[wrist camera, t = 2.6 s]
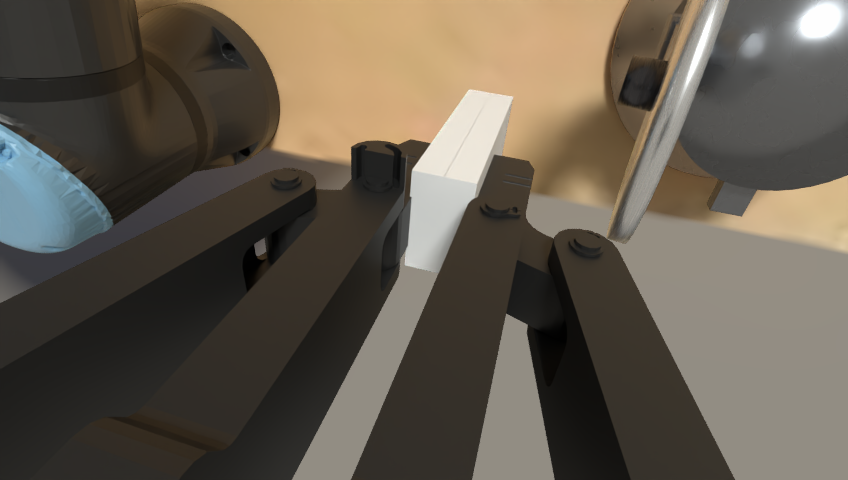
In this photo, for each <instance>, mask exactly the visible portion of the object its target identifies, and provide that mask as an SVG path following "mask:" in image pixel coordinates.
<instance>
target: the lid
mask: <svg viewBox="0 0 848 480" xmlns="http://www.w3.org/2000/svg"><path fill="white" fill-rule="evenodd" d="M728 3H729V0H688V1H687V4H686V6H685V9H684V11H683V14H682V16H681V19H680V22H679V23H676V26H675V28H674V31H673V34H672V37H671V39H670V42H669V45H668V47H667V50H666V53H665V56H664V58H663V60H660V59H654V58H649V57H643V56H638V55H633V57H632V59H631V62H630V65H629V68H628V71H627V73H626V76H625V79H624V82H623V85H622V88H621V92H620V95H619V98H618V101H617V105H621V106H626V107H630V108H635V109H640V110H644V111H646V114H645V116H644V119H643V122H642V125H641V128H640V131H639V134H638V136H637V139H636V142H635V145H634V148H633V151H632V154H631V157H630V160H629V163H628V166H627V168H626V171H625V174H624V178H623V181H622V184H621V187H620V190H619V193H618V196H617V199H616V202H615V206H614V209H613V212H612V216H611V219H610V223H609V227H608V231H607V236H606V238H607V239H609V240H613V241H616V242H619V243H622V244H625V243H627V242H628V241H629V239H630V238H631V236H632V235H633V233H634V231H635V230H636V228H637V226H638V224H639V222H640V220H641V218H642V216H643V215H644V213H645V211H646V209H647V206H648V204H649V202H650V200H651V198H652V196H653V194H654V192H655V189H656V187H657V185H658V183H659V181H660V178H661V176H662V174H663V172H664V169H665V167H666V165H667V162H668V160H669V158H670V155H671V153H672V151H673V148H674V146H675V143H676V141H677V139H678V136H679V134H680V131H681V129H682V127H683V124H684V122H685V119H686V117H687V114H688V112H689V109H690V107H691V104H692V102H693V99H694V96H695V94H696V91H697V89H698V86H699V83H700V81H701V78H702V76H703V73H704V70H705V68H706V65H707V62H708V60H709V57H710V54H711V51H712V49H713V46H714V43H715V41H716V38H717V35H718V32H719V29H720V26H721V24H722V21H723V18H724V15H725V12H726V9H727V6H728Z"/></svg>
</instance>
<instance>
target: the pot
mask: <svg viewBox="0 0 848 480" xmlns="http://www.w3.org/2000/svg"><path fill="white" fill-rule="evenodd" d="M687 1H688V0H630V1H629V3H628V5H627V7H626V9H625V11H624V13H623V15H622V18H621V21H620V24H619V26H618V29H617V32H616V36H615V40H614V44H613V49H612V57H611V66H610V70H611V87H612V92H613V98H614V102H615V105H616V108H617V111H618V114H619V117H620V119H621V120H622V122H623V124H624V126H625V128H626V130H627V131H628V132H629V134H630V135H631V137H632V138H633V139H634V141H635V142H636V139H637V136H638V134H639V131H640V128H641V125H642V122H643V119H644V116H645V114H646V111H644V110H640V109H635V108H630V107H626V106H621V105H617V101H618V98H619V95H620V92H621V88H622V85H623V82H624V79H625V76H626V73H627V71H628V68H629V65H630V62H631V59H632V57H633V55H638V56H643V57H649V58H654V59H660V60H663V58H664V56H665V53H666V50H667V47H668V45H669V42H670V39H671V37H672V34H673V31H674V28H675V26H676V23H679V22H680V19H681V16H682V14H683V11H684V9H685V6H686V4H687ZM667 166H669V167H672V168H674V169H677V170H679V171H682V172H685V173H689V174H693V175H697V176H702V177H709V178H717V179H719V180H718V182H717V184H716V186H715V188H714V190H713V192H712V194H711V196H710V198H709V200H708V202H707V205H708V207H709V209H710V210H711V211H716V212H721V213H727V214H732V215H737V216H742V215H743V213H744V212H745V210H746V208H747V206H748V205H749V203H750V201H751V199H752V198H753V196H754V194H755V192H756V191H757V190H773V191H779V190H793V189H799V188H805V187H811V186H815V185H819V184H823V183H827V182H830V181H833V180H836V179H839V178H841V177H844V176H847V175H848V0H729V3H728V6H727V9H726V12H725V15H724V18H723V21H722V24H721V26H720V29H719V32H718V35H717V38H716V41H715V43H714V46H713V49H712V51H711V54H710V57H709V60H708V62H707V65H706V68H705V70H704V73H703V76H702V78H701V81H700V83H699V86H698V89H697V91H696V94H695V96H694V99H693V102H692V104H691V107H690V109H689V112H688V114H687V117H686V119H685V122H684V124H683V127H682V129H681V131H680V134H679V136H678V139H677V141H676V143H675V146H674V148H673V151H672V153H671V155H670V158H669V160H668V162H667Z"/></svg>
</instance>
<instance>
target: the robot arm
mask: <svg viewBox="0 0 848 480" xmlns="http://www.w3.org/2000/svg"><path fill="white" fill-rule="evenodd" d="M512 101H513V97H511V96H505V95H500V94H494V93H488V92H482V91H476V90H470V89H469V90H468V92H467V93H466V95H465V96H464V97H463V99H462V100H461V102H460V103H459V105H458V106H457V107H456V109H455V110H454V112H453V113H452V114H451V116H450V117H449V119H448V120H447V121H446V123H445V124H444V126H443V127H442V129H441V130H440V131H439V133H438V134H437V136H436V137H435V138H434V140H433V141H432V143H426V142H421V141H416V140H408V141H406V142H404V143H401V144H399V145H397V144H394V143H391V142H386V141H365V142H361V143H357V144H356V145H354V146H352V147H351V171H352V172H351V175H352V179H351V180H350V181H349V182H348V184H347V185H346V186H345V187H344V188H343V189H342V190H319V189H316V180H315V178H314V177H313V175H311V174H310V173H308V172H306V171H302V170H298V169H294V168H292V169H290V168H283V169H280V170H274V171H271V172H268V173H265V174H263V175H262V176H259V177H257V178H255V179H253V180H251V181H249V182H247V183H245V184H243V185H241V186H239V187H237V188H235V189H233V190H231V191H228V192H227V193H224V194H222V195H220V196H218V197H216V198H214V199H212V200H210V201H208V202H206V203H204V204H202V205H200V206H198V207H196V208H194V209H192V210H190V211H188V212H186V213H184V214H181V215H179V216H177V217H175V218H173V219H171V220H169V221H167V222H165V223H163V224H161V225H159V226H157V227H155V228H153V229H151V230H149V231H147V232H145V233H143V234H141V235H139V236H137V237H135V238H133V239H130V240H128V241H126V242H124V243H122V244H120V245H118V246H116V247H114V248H112V249H110V250H108V251H106V252H104V253H102V254H100V255H98V256H96V257H94V258H92V259H89V260H87V261H85V262H83V263H81V264H79V265H77V266H75V267H73V268H71V269H69V270H67V271H65V272H63V273H61V274H59V275H57V276H55V277H53V278H51V279H49V280H47V281H45V282H43V283H41V284H38V285H36V286H34V287H32V288H30V289H28V290H26V291H24V292H22V293H20V294H18V295H16V296H14V297H12V298H10V299H8V300H6V301H4V302H2V303H0V480H292V478H293V476H294V474H295V472H296V471H297V469H298V467H299V465H300V463H301V461H302V459H303V457H304V455H305V453H306V451H307V450H308V448H309V446H310V444H311V442H312V440H313V438H314V436H315V434H316V432H317V431H318V429H319V427H320V425H321V423H322V421H323V419H324V417H325V415H326V413H327V411H328V410H329V408H330V406H331V404H332V402H333V400H334V398H335V396H336V394H337V392H338V390H339V389H340V387H341V385H342V383H343V381H344V379H345V377H346V375H347V373H348V371H349V370H350V368H351V366H352V364H353V362H354V360H355V358H356V356H357V354H358V353H359V350H360V349H361V347H362V345H363V343H364V341H365V339H366V337H367V335H368V334H369V332H370V329H371V328H372V326H373V324H374V322H375V320H376V318H377V316H378V314H379V313H380V311H381V309H382V307H383V305H384V303H385V301H386V299H387V297H388V295H389V294H390V292H391V290H392V287H393V286H394V284H395V282H396V280H397V278H398V276H399V268H400V259H401V257H402V255H403V254H404V252H405V250H406V255H405V265H406V266H410V267H414V268H418V269H423V270H426V271H430V272H435V273H438V276H437V278H436V281H435V283H434V286H433V288H432V290H431V293H430V295H429V297H428V300H427V302H426V305H425V307H424V309H423V312H422V314H421V316H420V319H419V321H418V323H417V326H416V328H415V330H414V333H413V335H412V338H411V340H410V342H409V345H408V347H407V349H406V352H405V354H404V357H403V359H402V361H401V363H400V366H399V368H398V370H397V373H396V375H395V378H394V380H393V382H392V385H391V387H390V389H389V392H388V394H387V396H386V399H385V401H384V403H383V406H382V408H381V411H380V413H379V415H378V418H377V420H376V422H375V425H374V427H373V429H372V432H371V434H370V436H369V439H368V441H367V444H366V446H365V448H364V451H363V453H362V456H361V458H360V460H359V462H358V465H357V467H356V470H355V472H354V474H353V476H352V479H351V480H472V476H473V471H474V467H475V462H476V457H477V452H478V447H479V443H480V438H481V433H482V428H483V423H484V418H485V413H486V408H487V404H488V398H489V394H490V389H491V384H492V379H493V374H494V369H495V364H496V360H497V355H498V350H499V345H500V340H501V335H502V330H503V325H504V321H505V316H506V313H507V314H508V315H510V316H512V317H514V318H516V319H518V320H520V321H522V322H524V323H526V324H528V328H527V336H528V340H529V346H530V351H531V357H532V362H533V368H534V373H535V378H536V383H537V389H538V394H539V399H540V404H541V409H542V415H543V420H544V426H545V430H546V436H547V441H548V447H549V452H550V457H551V462H552V467H553V473H554V478H555V480H735V479H734V477H733V475H732V473H731V471H730V469H729V467H728V465H727V463H726V461H725V459H724V457H723V455H722V453H721V451H720V449H719V447H718V445H717V444H716V441H715V439H714V438H713V436H712V434H711V432H710V430H709V428H708V426H707V424H706V422H705V420H704V418H703V416H702V414H701V412H700V410H699V408H698V406H697V404H696V402H695V400H694V398H693V396H692V394H691V392H690V390H689V388H688V386H687V384H686V383H685V381H684V379H683V377H682V375H681V373H680V371H679V369H678V367H677V365H676V363H675V361H674V359H673V357H672V355H671V353H670V351H669V349H668V347H667V345H666V343H665V341H664V339H663V337H662V335H661V333H660V331H659V329H658V328H657V326H656V323H655V322H654V320H653V318H652V316H651V314H650V312H649V310H648V308H647V306H646V304H645V302H644V300H643V298H642V296H641V294H640V292H639V290H638V288H637V286H636V284H635V282H634V280H633V278H632V276H631V274H630V273H629V270H628V268H627V266H626V264H625V263H624V261H623V259H622V257H621V255H620V253H619V251H618V249H617V248H616V247H615V245H614V244H613V243H612V242H611V241H609V240H608V239H606V238H605V237H603V236H601V235H600V234H598V233H594V232H592V231H589V230H582V229H567V230H564V231H561V232H559V233H558V234H557V235H556V236H555V237H554V239H553V238H551V237H549V236H546V235H544V234H542V233H541V232H539V231H537V230H536V229H535V228H533V227H532V226H531V225H530V224H529V223H528V221H527V219H526V209H527V204H528V199H529V194H530V189H531V184H532V179H533V174H534V169H533V167H532V166H531V164H530V163H529V161H525V160H520V159H515V158H510V157H505V156H502V152H503V146H504V141H505V136H506V131H507V126H508V121H509V116H510V111H511V106H512ZM278 120H279V97H278V91H277V87H276V83H275V80H274V77H273V74H272V72H271V69H270V67H269V65H268V63H267V61H266V59H265V57H264V56H263V54H262V52H261V51H260V49H259V48H258V46H257V45H256V44H255V42H254V41H253V40H252V39H251V38H250V36H249V35H248V34H247V33H246V32H245V31H244V30H243V29H242V28H241V27H240V26H238V25H237V24H236V23H235V22H234V21H232V20H231V19H230V18H228V17H227V16H225V15H223V14H222V13H220V12H218V11H216V10H214V9H212V8H209V7H206V6H203V5H199V4H193V3H179V4H174V5H169V6H164V7H159V8H156V9H154V10H152V11H150V12H148V13H146V14H144V15H143V16H142V17H141V18H140V19H138V16H137V10H136V4H135V0H0V242H2V243H5V244H7V245H10V246H12V247H15V248H19V249H22V250H26V251H30V252H36V253H55V252H61V251H64V250H67V249H70V248H72V247H74V246H76V245H78V244H79V243H81V242H83V241H85V240H87V239H89V238H90V237H92V236H94V235H96V234H98V233H103V232H106V231H107V230H108V229H109V228H111V227H112V226H113V225H115V224H116V223H118V222H119V221H121V220H122V219H124V218H125V217H127V216H128V215H130V214H131V213H133V212H134V211H136V210H137V209H139V208H140V207H142V206H143V205H145V204H146V203H148V202H149V201H151V200H152V199H154V198H155V197H157V196H158V195H160V194H161V193H163V192H164V191H166V190H167V189H169V188H170V187H172V186H173V185H175V184H176V183H178V182H180V181H181V180H182V179H184V178H185V177H187V176H188V175H190V174H192V173H193V172H196V171H202V170H209V169H215V168H221V167H227V166H233V165H237V164H240V163H242V162H244V161H246V160H248V159H250V158H251V157H253V156H254V155H256V154H257V153H258V152H260V151H261V150H263V149H264V148H265V147H266V146H267V145H268V143H269V142H270V141H271V139H272V138H273V136H274V134H275V131H276V128H277V125H278ZM263 238H265V245H266V252H265V253H264V254H262V255H260V256H256V254H255V248H254V244H255V243H256V242H258V241H260V240H261V239H263Z"/></svg>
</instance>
